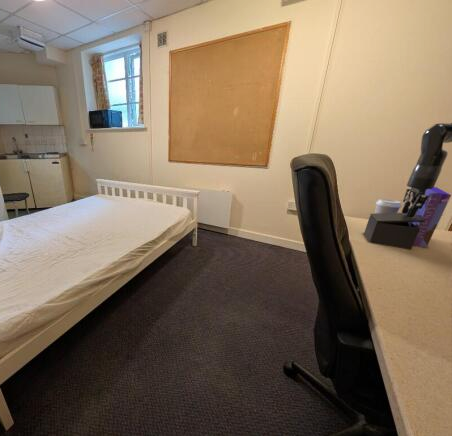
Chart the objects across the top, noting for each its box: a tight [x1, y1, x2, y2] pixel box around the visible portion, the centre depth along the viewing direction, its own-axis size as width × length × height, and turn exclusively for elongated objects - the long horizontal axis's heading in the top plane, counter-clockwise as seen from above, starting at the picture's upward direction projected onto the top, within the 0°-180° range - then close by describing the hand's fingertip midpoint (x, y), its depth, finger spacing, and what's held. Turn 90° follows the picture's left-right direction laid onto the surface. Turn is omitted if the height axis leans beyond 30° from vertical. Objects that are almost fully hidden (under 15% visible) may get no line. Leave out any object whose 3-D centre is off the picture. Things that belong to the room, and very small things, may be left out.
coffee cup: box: [374, 198, 403, 213], centre depth 114 cm, size 10×10×15 cm
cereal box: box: [412, 186, 452, 249], centre depth 100 cm, size 17×5×24 cm, turn 143°
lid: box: [370, 206, 425, 223], centre depth 98 cm, size 14×12×5 cm
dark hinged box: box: [363, 214, 420, 250], centre depth 101 cm, size 14×12×10 cm
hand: (407, 214), depth 96 cm, fingers closed on lid, 5 cm apart
